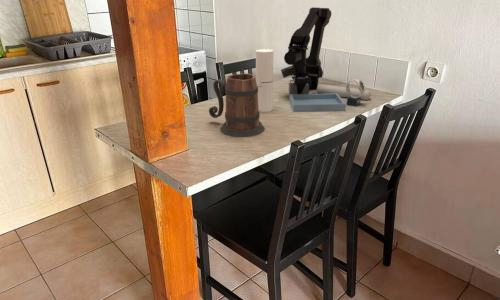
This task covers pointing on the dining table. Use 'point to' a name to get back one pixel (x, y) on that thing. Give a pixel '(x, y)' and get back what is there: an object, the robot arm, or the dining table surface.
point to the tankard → (238, 106)
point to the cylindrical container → (264, 79)
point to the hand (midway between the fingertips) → (298, 93)
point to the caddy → (294, 89)
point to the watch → (355, 99)
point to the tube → (342, 91)
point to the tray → (316, 102)
